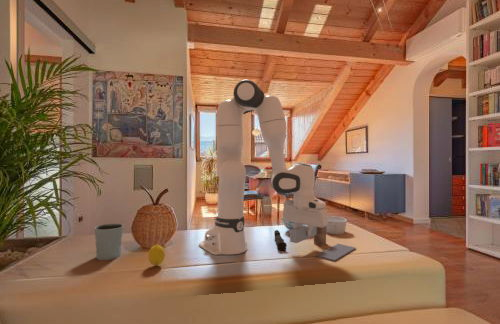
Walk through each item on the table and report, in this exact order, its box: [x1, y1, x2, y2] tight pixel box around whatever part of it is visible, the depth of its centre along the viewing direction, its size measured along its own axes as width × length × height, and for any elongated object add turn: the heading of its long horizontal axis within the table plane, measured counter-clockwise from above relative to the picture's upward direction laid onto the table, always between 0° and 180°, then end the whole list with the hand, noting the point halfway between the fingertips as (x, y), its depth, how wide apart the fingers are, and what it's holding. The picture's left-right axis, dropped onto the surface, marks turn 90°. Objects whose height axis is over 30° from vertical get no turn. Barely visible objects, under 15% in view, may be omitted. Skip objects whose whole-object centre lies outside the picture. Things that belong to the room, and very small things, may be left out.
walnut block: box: [313, 226, 327, 247], centre depth 126 cm, size 4×4×10 cm
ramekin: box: [326, 215, 348, 235], centre depth 147 cm, size 13×13×7 cm
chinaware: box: [281, 215, 305, 232], centre depth 147 cm, size 15×15×8 cm
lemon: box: [148, 243, 166, 267], centre depth 100 cm, size 6×6×8 cm
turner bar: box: [289, 225, 316, 244], centre depth 116 cm, size 3×16×5 cm, turn 137°
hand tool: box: [273, 229, 287, 252], centre depth 126 cm, size 19×4×5 cm, turn 0°
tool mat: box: [315, 243, 357, 262], centre depth 115 cm, size 8×20×1 cm, turn 137°
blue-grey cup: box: [94, 223, 124, 261], centre depth 109 cm, size 10×10×12 cm
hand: (303, 234), depth 116 cm, fingers closed on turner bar, 3 cm apart
